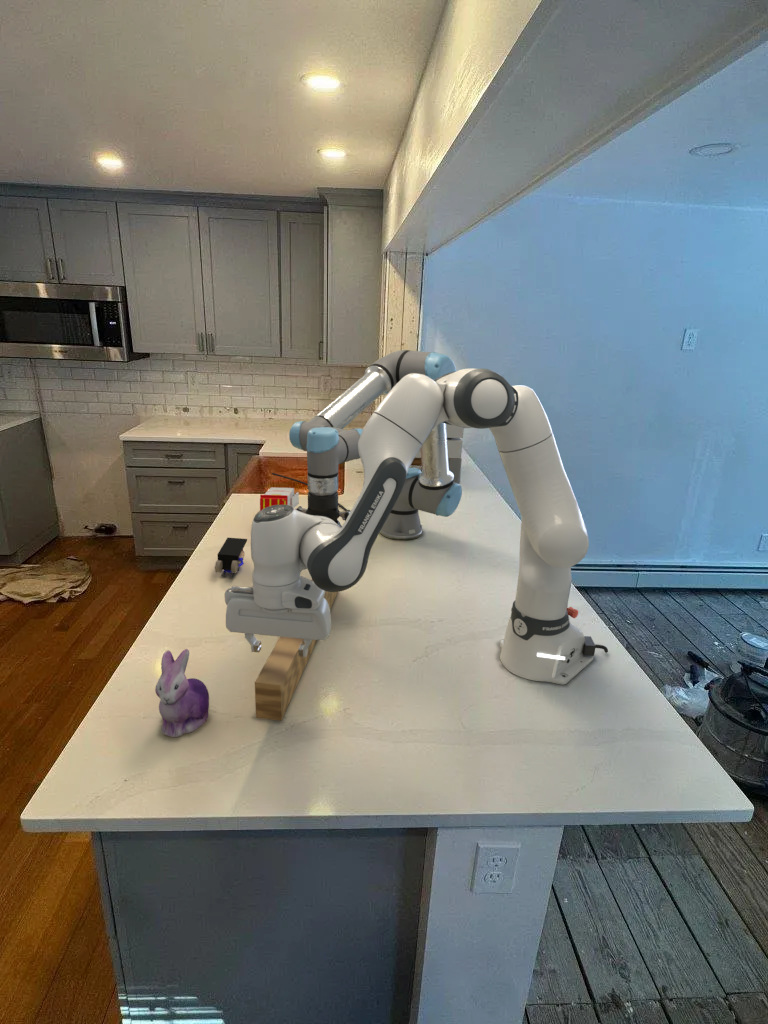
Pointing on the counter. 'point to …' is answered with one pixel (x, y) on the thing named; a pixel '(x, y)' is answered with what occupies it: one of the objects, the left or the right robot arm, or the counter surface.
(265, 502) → the toy
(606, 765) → the counter surface
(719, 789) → the counter surface
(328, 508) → the left robot arm
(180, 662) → the figurine
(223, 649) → the counter surface
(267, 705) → the bar
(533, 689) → the counter surface
